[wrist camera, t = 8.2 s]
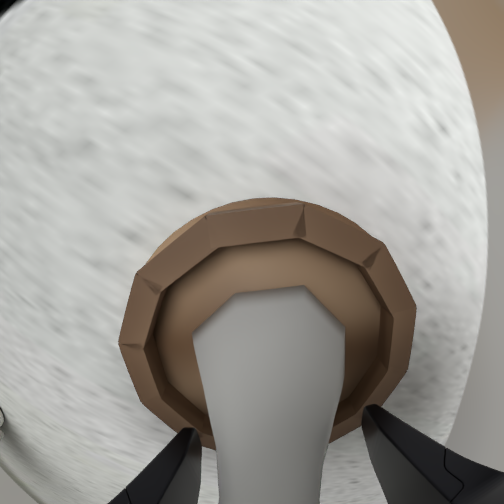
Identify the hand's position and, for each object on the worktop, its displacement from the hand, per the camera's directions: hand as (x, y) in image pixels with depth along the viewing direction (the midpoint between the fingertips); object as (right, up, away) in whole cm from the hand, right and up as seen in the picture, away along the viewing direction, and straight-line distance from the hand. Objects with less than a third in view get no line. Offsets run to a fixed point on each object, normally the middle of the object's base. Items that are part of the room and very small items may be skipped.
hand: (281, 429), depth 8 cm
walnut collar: (0, +1, +6) cm, 6 cm away
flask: (0, +1, +5) cm, 5 cm away
